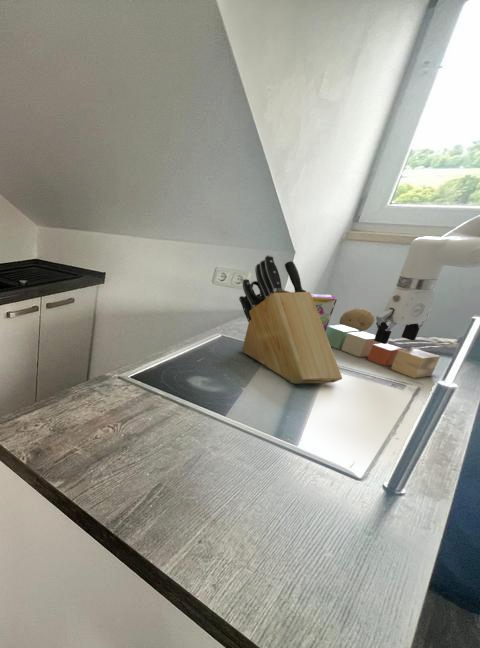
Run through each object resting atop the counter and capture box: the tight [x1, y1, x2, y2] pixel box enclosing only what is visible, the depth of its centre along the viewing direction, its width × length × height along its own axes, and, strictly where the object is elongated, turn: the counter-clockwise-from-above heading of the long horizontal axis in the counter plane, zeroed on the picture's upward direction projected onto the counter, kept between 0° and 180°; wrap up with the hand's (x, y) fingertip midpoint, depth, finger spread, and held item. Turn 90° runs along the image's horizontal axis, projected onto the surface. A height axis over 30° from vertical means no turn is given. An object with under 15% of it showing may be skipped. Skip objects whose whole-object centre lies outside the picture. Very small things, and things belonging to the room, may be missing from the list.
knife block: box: [238, 254, 343, 385], centre depth 114 cm, size 11×35×31 cm, turn 2°
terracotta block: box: [366, 342, 405, 367], centre depth 117 cm, size 5×5×5 cm
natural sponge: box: [339, 307, 375, 332], centre depth 137 cm, size 9×9×10 cm
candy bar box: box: [311, 293, 338, 331], centre depth 131 cm, size 11×5×16 cm, turn 71°
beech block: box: [390, 347, 441, 379], centre depth 110 cm, size 6×6×6 cm
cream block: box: [340, 331, 381, 358], centre depth 124 cm, size 6×6×6 cm
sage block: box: [325, 324, 360, 350], centre depth 130 cm, size 6×6×6 cm
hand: (394, 340), depth 115 cm, fingers open, 9 cm apart
